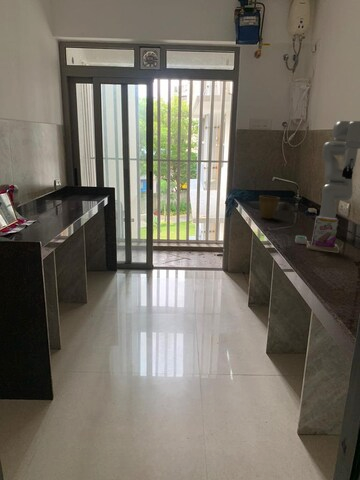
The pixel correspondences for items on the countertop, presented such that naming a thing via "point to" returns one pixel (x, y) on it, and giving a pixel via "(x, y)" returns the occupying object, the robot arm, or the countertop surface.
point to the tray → (321, 248)
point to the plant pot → (268, 205)
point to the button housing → (300, 240)
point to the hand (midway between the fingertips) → (346, 177)
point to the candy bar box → (324, 231)
